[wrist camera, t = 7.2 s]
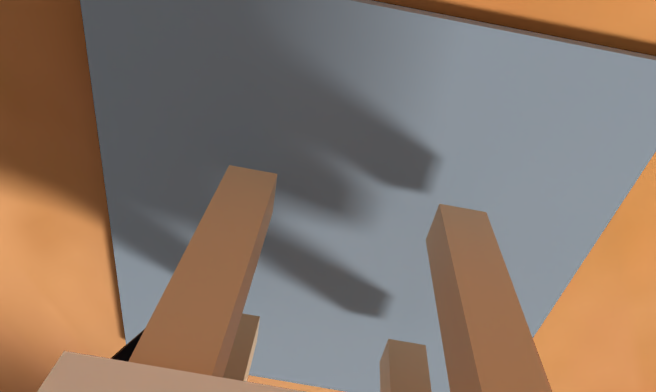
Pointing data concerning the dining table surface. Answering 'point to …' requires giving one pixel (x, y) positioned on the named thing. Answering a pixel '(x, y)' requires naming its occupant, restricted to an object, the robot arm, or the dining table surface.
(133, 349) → the robot arm
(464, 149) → the mat
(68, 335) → the dining table surface
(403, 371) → the stool
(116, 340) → the dining table surface
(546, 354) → the dining table surface
